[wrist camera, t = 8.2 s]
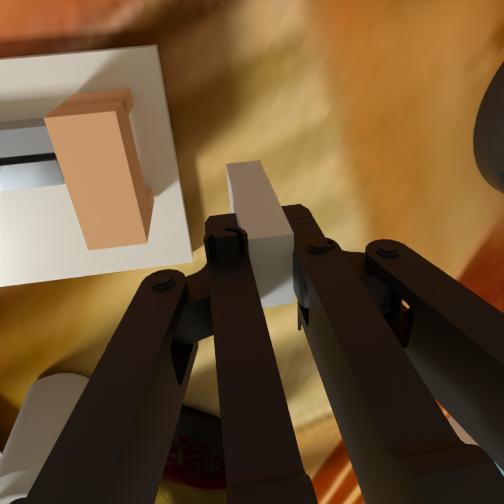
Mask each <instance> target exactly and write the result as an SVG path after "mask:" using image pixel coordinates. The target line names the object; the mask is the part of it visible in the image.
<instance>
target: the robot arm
mask: <svg viewBox="0 0 504 504" xmlns="http://www.w3.org/2000/svg"><path fill="white" fill-rule="evenodd" d="M473 145H474V155H475V160H476V163H477V166H478V169H479V171H480V173H481V174H482V176H483V177H484V179H485V180H486V181H487V182H488V183H489V184H490V185H491V186H492V187H493V188H495V189H496V190H498V191H500V192H501V193H503V194H504V63H503V64H502V66H501V67H500V69H499V70H498V72H497V73H496V75H495V76H494V78H493V80H492V81H491V83H490V85H489V87H488V89H487V91H486V93H485V95H484V97H483V100H482V102H481V105H480V108H479V111H478V115H477V118H476V123H475V128H474V139H473ZM226 171H227V181H228V190H229V199H230V209H231V214H223V215H215V216H209V218H208V219H207V221H206V222H205V233H206V234H205V236H204V245H205V252H206V258H207V264H206V265H205V266H204V267H203V268H202V269H201V270H200V271H198V272H197V273H194V274H192V275H189V276H187V277H185V275H184V274H183V273H182V272H180V271H178V270H172V269H166V270H160V271H157V272H154V273H152V274H150V275H149V276H147V277H146V278H145V279H144V280H143V281H142V282H141V284H140V286H139V288H138V290H137V292H136V294H135V295H134V297H133V299H132V301H131V303H130V305H129V307H128V308H127V310H126V312H125V314H124V316H123V318H122V320H121V322H120V323H119V325H118V327H117V329H116V331H115V333H114V335H113V336H112V338H111V340H110V342H109V344H108V346H107V348H106V349H105V351H104V353H103V355H102V357H101V359H100V361H99V362H98V364H97V366H96V368H95V370H94V372H93V374H92V376H91V377H90V379H89V381H88V383H87V385H86V387H85V389H84V390H83V392H82V394H81V396H80V398H79V400H78V402H77V403H76V405H75V407H74V409H73V411H72V413H71V415H70V417H69V418H68V420H67V422H66V424H65V426H64V428H63V430H62V431H61V433H60V435H59V437H58V439H57V441H56V443H55V444H54V446H53V448H52V450H51V452H50V454H49V456H48V458H47V459H46V461H45V463H44V465H43V467H42V469H41V471H40V472H39V474H38V476H37V478H36V480H35V482H34V484H33V485H32V487H31V489H30V491H29V493H28V495H27V497H26V498H25V500H24V502H23V504H155V500H156V496H157V493H158V489H159V486H160V482H161V479H162V475H163V471H164V468H165V464H166V461H167V457H168V454H169V450H170V446H171V443H172V439H173V436H174V432H175V428H176V425H177V421H178V418H179V414H180V411H181V407H182V403H183V400H184V396H185V393H186V389H187V386H188V382H189V378H190V375H191V371H192V368H193V364H194V361H195V357H196V353H197V350H198V341H200V340H202V339H205V338H207V337H209V336H212V335H214V346H215V357H216V369H217V380H218V391H219V403H220V414H221V425H222V437H223V448H224V459H225V471H226V483H227V488H226V503H227V504H318V502H317V498H316V495H315V491H314V488H313V485H312V482H311V479H310V477H309V475H307V474H306V473H305V470H304V468H303V464H302V461H301V457H300V453H299V449H298V445H297V441H296V437H295V433H294V429H293V425H292V421H291V417H290V414H289V410H288V406H287V402H286V398H285V394H284V390H283V386H282V382H281V378H280V374H279V371H278V367H277V363H276V359H275V355H274V351H273V347H272V343H271V339H270V335H269V331H268V327H267V324H266V320H265V316H264V312H263V308H266V307H273V306H280V305H287V304H294V292H295V294H296V297H297V300H298V330H301V325H302V326H303V329H304V332H305V334H306V337H307V340H308V343H309V346H310V349H311V351H312V354H313V357H314V360H315V363H316V365H317V368H318V371H319V374H320V377H321V379H322V382H323V385H324V388H325V391H326V394H327V396H328V399H329V402H330V405H331V408H332V410H333V413H334V416H335V419H336V422H337V424H338V427H339V430H340V433H341V436H342V439H343V441H344V444H345V447H346V450H347V453H348V455H349V458H350V461H351V464H352V467H353V469H354V472H355V475H356V478H357V481H358V484H359V486H360V489H361V492H362V495H363V498H364V500H365V503H366V504H504V313H502V312H501V311H499V310H498V309H496V308H495V307H494V306H492V305H491V304H489V303H488V302H486V301H485V300H484V299H482V298H481V297H479V296H478V295H476V294H475V293H473V292H472V291H471V290H469V289H468V288H466V287H465V286H463V285H462V284H461V283H459V282H458V281H456V280H455V279H453V278H452V277H451V276H449V275H448V274H446V273H445V272H443V271H442V270H440V269H439V268H438V267H436V266H435V265H433V264H432V263H430V262H429V261H428V260H426V259H425V258H423V257H422V256H420V255H419V254H418V253H416V252H415V251H413V250H412V249H410V248H409V247H407V246H406V245H404V244H402V243H400V242H398V241H394V240H389V239H387V240H386V239H381V240H375V241H373V242H370V243H369V244H368V245H367V246H366V249H365V253H361V252H348V251H343V250H342V249H341V248H340V246H339V245H338V244H337V243H336V242H335V241H334V240H332V239H330V238H326V237H325V236H324V234H323V233H322V231H321V229H320V228H319V226H318V224H317V223H316V221H315V219H314V218H313V216H312V214H311V212H310V211H309V209H307V208H306V207H304V206H302V205H301V204H296V205H288V206H281V205H280V203H279V201H278V199H277V197H276V194H275V192H274V190H273V188H272V186H271V184H270V181H269V179H268V177H267V175H266V173H265V171H264V169H263V166H262V164H261V162H260V160H258V161H249V162H240V163H231V164H226ZM402 300H404V301H405V302H406V303H407V304H408V305H409V306H410V307H409V309H408V308H406V307H405V306H404V305H403V304H402ZM434 398H435V399H436V400H437V401H438V402H439V404H440V405H441V406H442V407H443V408H444V409H445V410H446V411H447V412H448V413H449V414H450V415H451V416H452V417H453V418H454V419H455V420H456V422H457V423H458V424H459V425H460V426H461V427H462V428H463V429H464V430H465V431H466V432H467V433H468V434H469V435H470V436H471V437H472V439H473V440H474V441H475V442H476V443H477V444H478V445H479V446H480V447H481V448H480V447H479V446H478V445H472V444H465V443H464V442H463V441H461V440H460V438H459V437H458V436H457V434H456V433H455V431H454V430H453V428H452V426H451V425H450V423H449V421H448V420H447V418H446V417H445V415H444V413H443V412H442V410H441V409H440V407H439V405H438V404H437V402H436V401H435V399H434Z"/></svg>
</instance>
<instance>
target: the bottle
mask: <svg viewBox="0 0 504 504" xmlns="http://www.w3.org/2000/svg"><path fill="white" fill-rule="evenodd" d="M226 488H227V483H226V471H225V459H224V448H223V437H222V425H221V419H220V418H218V417H216V416H213V415H211V414H208V413H204V412H201V411H198V410H195V409H193V408H190V407H186V406H182V407H181V411H180V414H179V418H178V421H177V425H176V428H175V432H174V436H173V439H172V443H171V446H170V450H169V454H168V457H167V461H166V464H165V468H164V471H163V475H162V479H161V482H160V486H159V489H158V493H157V496H156V500H155V504H227V503H226Z"/></svg>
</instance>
